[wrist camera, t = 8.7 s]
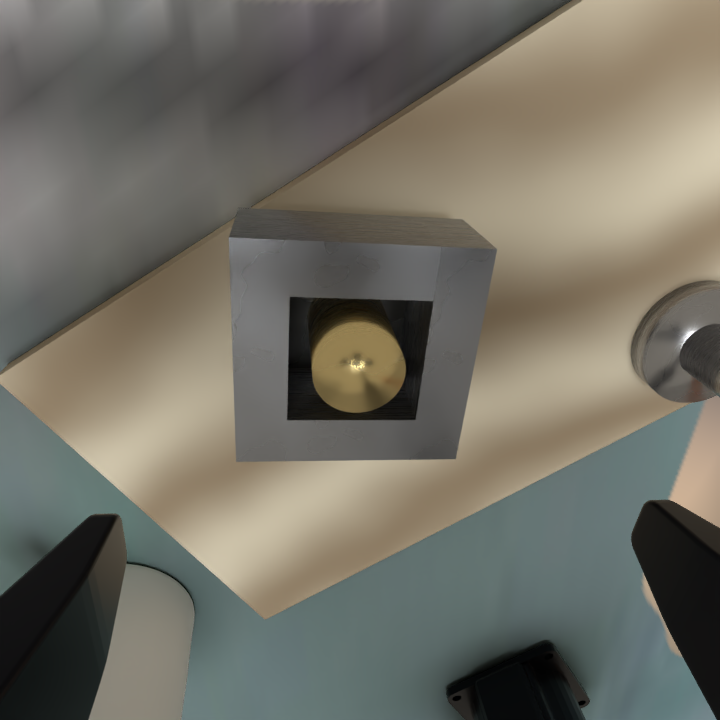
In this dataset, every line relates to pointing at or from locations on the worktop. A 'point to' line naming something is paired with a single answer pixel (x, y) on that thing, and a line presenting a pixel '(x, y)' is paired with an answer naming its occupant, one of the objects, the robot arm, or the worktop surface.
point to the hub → (349, 349)
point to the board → (501, 319)
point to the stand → (681, 344)
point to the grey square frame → (354, 281)
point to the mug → (147, 650)
